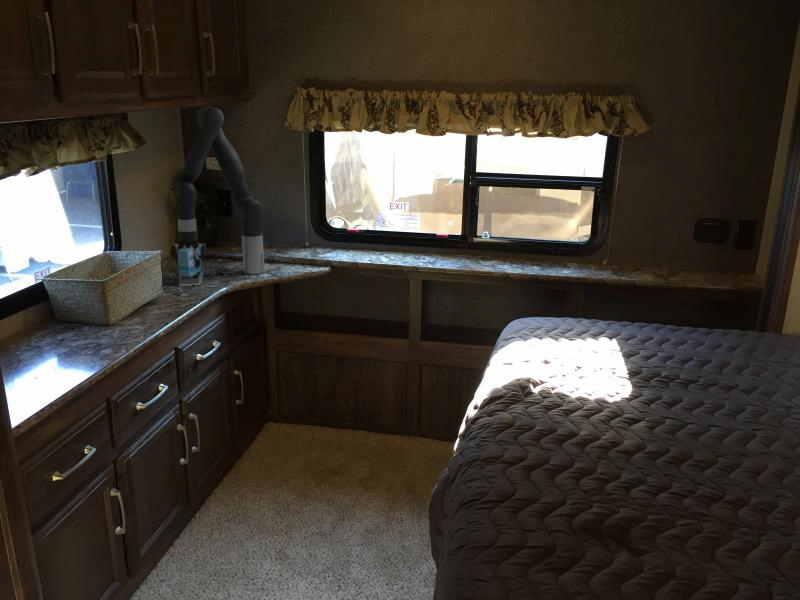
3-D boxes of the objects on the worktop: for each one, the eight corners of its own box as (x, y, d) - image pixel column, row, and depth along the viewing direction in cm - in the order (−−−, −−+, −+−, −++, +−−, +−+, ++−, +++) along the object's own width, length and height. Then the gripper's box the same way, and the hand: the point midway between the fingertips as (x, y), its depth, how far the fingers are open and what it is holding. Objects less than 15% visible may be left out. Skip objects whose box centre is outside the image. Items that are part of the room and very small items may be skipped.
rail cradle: (203, 275, 302) (202, 264, 301) (199, 285, 287) (198, 274, 286) (184, 275, 301) (183, 265, 299) (179, 286, 286) (178, 275, 284)
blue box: (189, 278, 287) (187, 250, 283) (179, 277, 288) (177, 249, 284) (202, 270, 298) (200, 244, 294) (192, 270, 299) (190, 243, 295)
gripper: (206, 227, 292) (208, 265, 297) (171, 227, 289) (174, 265, 294) (204, 230, 284) (206, 269, 290) (168, 231, 282) (171, 270, 287)
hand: (190, 267), depth 292 cm, fingers open, 5 cm apart
